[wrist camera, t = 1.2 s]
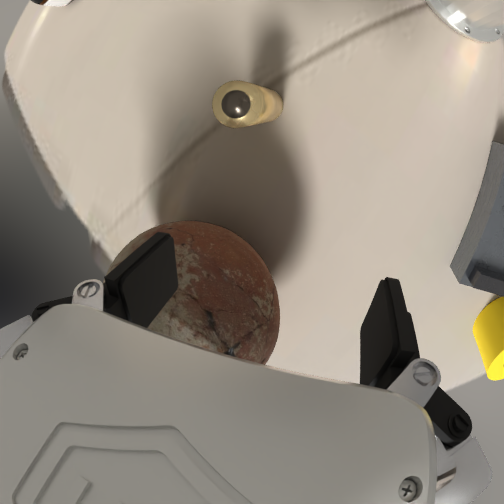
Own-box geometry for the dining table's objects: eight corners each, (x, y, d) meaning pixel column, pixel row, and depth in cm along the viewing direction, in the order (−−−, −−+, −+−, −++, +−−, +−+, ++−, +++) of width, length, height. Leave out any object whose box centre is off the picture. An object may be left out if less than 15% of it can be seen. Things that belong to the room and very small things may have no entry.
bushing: (250, 87, 26) (214, 79, 18) (285, 91, 26) (263, 82, 17) (246, 119, 29) (210, 125, 20) (280, 124, 28) (257, 131, 20)
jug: (300, 323, 41) (245, 516, 16) (183, 317, 48) (94, 451, 24) (280, 186, 32) (113, 445, 7) (140, 206, 39) (-20, 334, 14)
